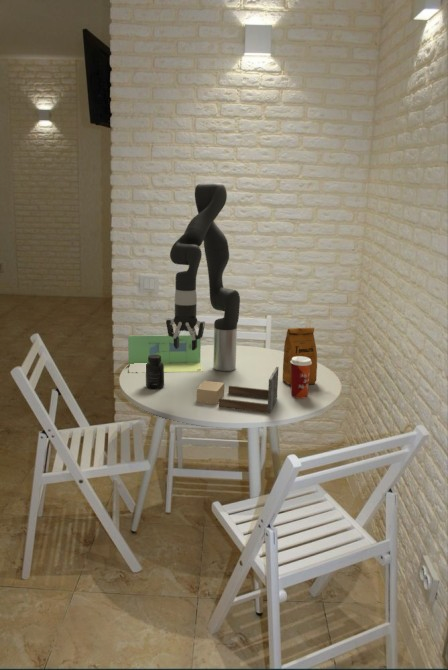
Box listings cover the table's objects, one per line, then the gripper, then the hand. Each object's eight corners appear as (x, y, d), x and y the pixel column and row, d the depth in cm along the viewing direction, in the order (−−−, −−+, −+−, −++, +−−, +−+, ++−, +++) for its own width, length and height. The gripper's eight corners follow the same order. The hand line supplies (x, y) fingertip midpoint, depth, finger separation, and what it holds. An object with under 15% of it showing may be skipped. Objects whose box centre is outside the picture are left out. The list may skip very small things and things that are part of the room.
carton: (204, 393, 218) (204, 380, 216) (223, 396, 216) (224, 382, 214) (196, 402, 209) (196, 388, 208) (216, 404, 207) (217, 391, 206)
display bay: (228, 393, 218) (229, 361, 215) (276, 398, 214) (278, 366, 210) (218, 407, 205) (219, 374, 201) (269, 413, 200) (271, 379, 197)
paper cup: (304, 400, 212) (306, 363, 209) (284, 396, 216) (286, 359, 212) (313, 394, 219) (315, 358, 215) (294, 390, 222) (296, 354, 219)
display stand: (200, 363, 253) (200, 334, 250) (202, 372, 241) (203, 343, 238) (128, 364, 249) (128, 335, 246) (127, 373, 237) (127, 343, 234)
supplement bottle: (146, 383, 226) (145, 353, 222) (164, 383, 226) (164, 353, 223) (145, 390, 219) (144, 358, 216) (164, 390, 220) (163, 358, 216)
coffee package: (318, 386, 227) (322, 330, 222) (287, 387, 225) (290, 331, 219) (310, 377, 237) (313, 324, 231) (280, 379, 234) (282, 324, 229)
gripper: (208, 301, 208) (207, 348, 212) (169, 298, 211) (169, 344, 215) (202, 305, 201) (201, 353, 205) (162, 302, 204) (162, 350, 208)
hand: (185, 348), depth 210 cm, fingers open, 5 cm apart
